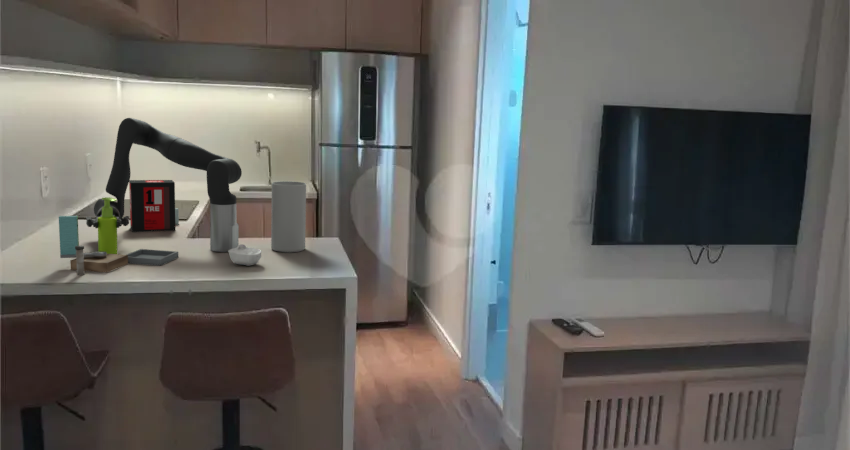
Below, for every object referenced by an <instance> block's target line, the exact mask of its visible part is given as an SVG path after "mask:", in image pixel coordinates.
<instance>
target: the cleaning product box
mask: <svg viewBox="0 0 850 450" xmlns="http://www.w3.org/2000/svg"><path fill="white" fill-rule="evenodd" d="M175 183H176V182H174V181H173V179H143V180H141V179H138V180H137V179H133V180H132V179H130V180H129V183H128V187H129V188H128V191H129V212H130V213H129V224H130V230H131V232H132V233H141V232H143V233H144V232H147V233H148V232H165V231H167V232H169V231H170V232H171V231H172V232H173V231H176V225H175V208H176V190H175V189H176V186H175V185H176V184H175Z"/></svg>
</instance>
